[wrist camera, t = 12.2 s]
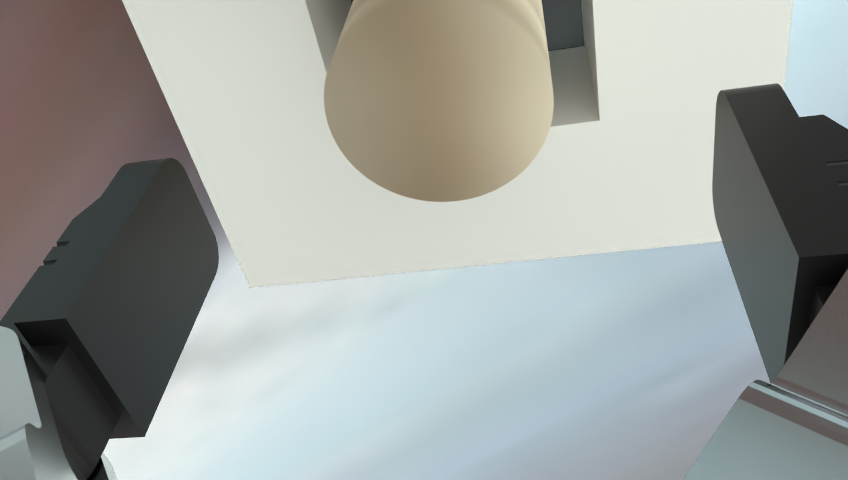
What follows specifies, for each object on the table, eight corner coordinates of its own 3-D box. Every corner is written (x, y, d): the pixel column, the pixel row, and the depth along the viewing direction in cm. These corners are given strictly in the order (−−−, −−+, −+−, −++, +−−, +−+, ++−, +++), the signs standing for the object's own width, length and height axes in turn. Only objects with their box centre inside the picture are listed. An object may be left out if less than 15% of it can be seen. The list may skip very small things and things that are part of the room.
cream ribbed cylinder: (525, -146, 18) (542, -23, 12) (541, 16, 21) (563, 189, 14) (360, -115, 19) (295, 17, 13) (395, 38, 21) (354, 212, 15)
